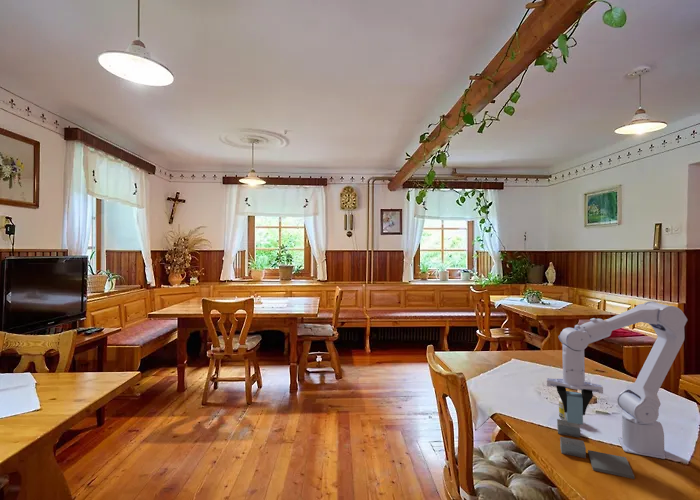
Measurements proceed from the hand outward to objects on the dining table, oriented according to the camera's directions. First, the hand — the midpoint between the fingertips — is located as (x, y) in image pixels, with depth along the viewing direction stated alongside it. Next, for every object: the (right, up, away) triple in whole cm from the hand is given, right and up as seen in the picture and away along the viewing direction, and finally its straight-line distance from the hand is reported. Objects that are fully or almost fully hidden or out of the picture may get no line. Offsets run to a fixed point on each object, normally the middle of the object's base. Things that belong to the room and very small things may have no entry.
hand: (574, 412), depth 110 cm
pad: (+3, -10, -10) cm, 15 cm away
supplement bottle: (+8, -10, +16) cm, 21 cm away
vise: (0, -10, +3) cm, 10 cm away
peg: (0, -2, 0) cm, 2 cm away
